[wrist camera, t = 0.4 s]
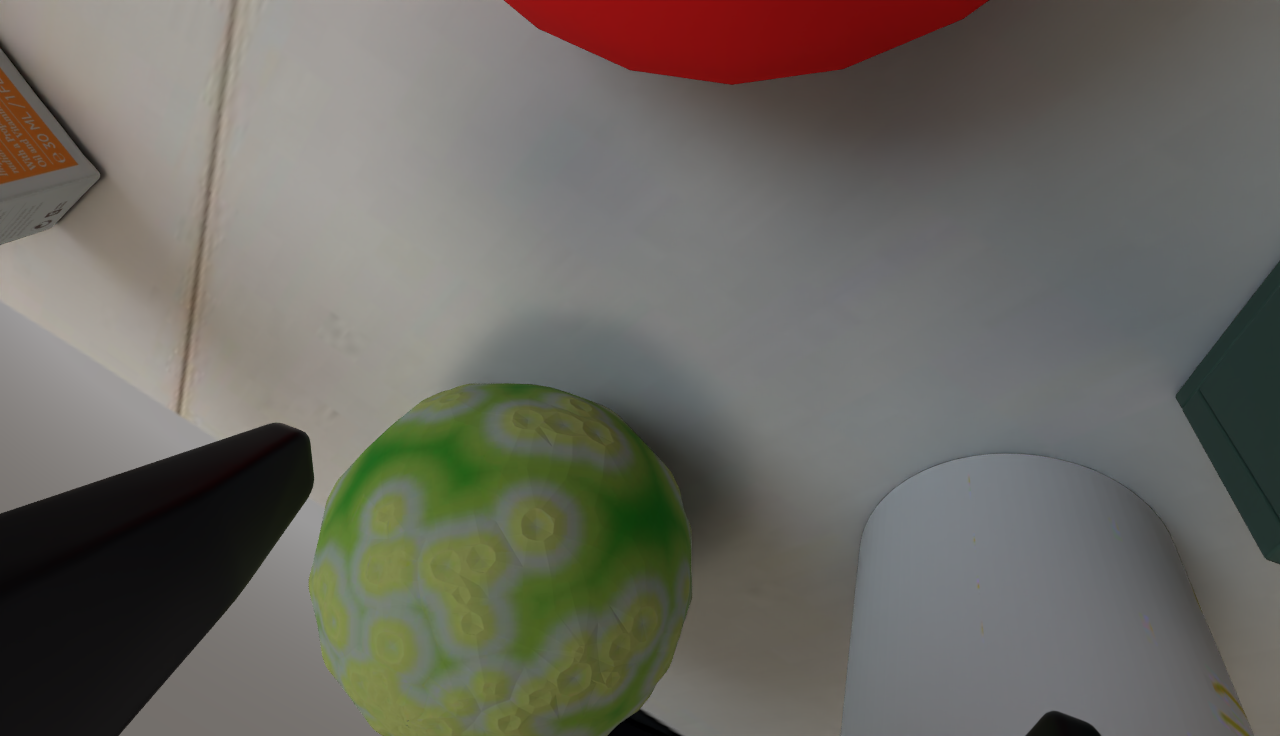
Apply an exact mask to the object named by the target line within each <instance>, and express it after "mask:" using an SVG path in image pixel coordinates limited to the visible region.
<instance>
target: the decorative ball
mask: <svg viewBox="0 0 1280 736" xmlns="http://www.w3.org/2000/svg"><path fill="white" fill-rule="evenodd" d="M691 537H692V531H691V526H690V523H689V521H688V518H687V516H686V513H685V511H684V507H683V502H682V498H681V493H680V489H679V487H678V485H677V483H676V481H675V479H674V477H673V475H672V473H671V471H670V470H669V469H668V468H667V466H666V465H665V464H664V463H663V462H662V461H661V460H660V459H659V458H658V457H657V456H656V455H655V454H654V452H653V451H652V450H651V449H650V448H649V447H648V446H647V445H646V444H645V443H644V442H643V441H642V440H641V439H640V438H639V437H638V435H637V434H636V433H635V432H634V431H633V430H632V429H631V428H630V427H629V426H628V425H627V424H626V423H625V422H624V421H623V420H622V419H621V418H620V417H619V416H618V415H617V414H616V413H614V412H613V411H612V410H610V409H608V408H606V407H604V406H602V405H600V404H597V403H594V402H592V401H589V400H587V399H584V398H581V397H579V396H576V395H573V394H570V393H567V392H564V391H561V390H557V389H554V388H550V387H545V386H539V385H532V384H509V383H505V384H466V385H462V386H459V387H456V388H453V389H451V390H447V391H443V392H441V393H438V394H436V395H433V396H431V397H429V398H427V399H425V400H423V401H421V402H420V403H419V404H417V405H416V406H415V407H414V408H412V409H411V410H410V411H409V412H408V413H406V414H405V415H404V416H403V417H401V418H400V419H399V420H398V421H396V422H395V423H394V424H393V425H392V426H391V427H390V428H388V429H387V430H386V431H385V432H384V433H383V434H382V435H381V436H380V437H379V438H378V439H377V440H376V441H374V442H373V443H372V444H371V445H370V446H369V447H368V448H367V449H366V450H365V451H364V452H363V453H362V454H361V455H360V457H359V458H358V459H357V460H356V461H355V462H354V463H353V464H352V465H351V466H350V468H349V469H348V470H347V471H346V472H345V473H344V474H343V475H342V476H341V477H340V478H339V479H338V481H337V482H336V484H335V486H334V487H333V489H332V491H331V493H330V495H329V497H328V500H327V503H326V506H325V511H324V516H323V521H322V526H321V530H320V535H319V540H318V544H317V548H316V553H315V557H314V561H313V565H312V569H311V573H310V577H309V592H310V596H311V600H312V604H313V608H314V612H315V616H316V620H317V624H318V631H319V638H320V644H321V650H322V657H323V660H324V663H325V665H326V667H327V668H328V670H329V671H330V672H331V674H332V675H333V676H334V678H335V679H336V680H337V681H338V683H339V684H340V685H341V686H342V688H343V689H344V690H345V692H346V693H347V694H348V695H349V697H350V698H351V699H352V701H353V702H354V704H355V705H356V706H357V708H358V709H359V711H360V712H361V713H362V715H363V716H364V717H365V719H366V720H367V722H368V723H369V724H370V726H371V727H372V728H373V729H374V730H375V731H376V732H378V733H379V734H381V735H382V736H607V735H608V734H609V733H610V732H611V731H612V730H613V729H614V728H615V727H616V726H617V725H618V724H619V723H621V722H622V721H623V720H625V719H626V718H628V717H629V716H631V715H632V714H634V713H635V712H637V711H638V710H639V709H640V708H641V707H642V705H643V704H644V703H645V702H646V700H647V699H648V698H649V697H650V695H651V693H652V691H653V689H654V688H655V686H656V684H657V682H658V681H659V680H660V679H661V678H662V676H663V675H664V674H665V673H666V671H667V670H668V668H669V666H670V664H671V662H672V659H673V655H674V652H675V649H676V646H677V642H678V640H679V637H680V634H681V631H682V627H683V623H684V620H685V617H686V614H687V611H688V608H689V605H690V602H691V599H692V577H691Z"/></svg>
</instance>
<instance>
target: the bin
mask: <svg viewBox="0 0 1280 736" xmlns="http://www.w3.org/2000/svg"><path fill="white" fill-rule="evenodd" d="M1176 399H1177V401H1178V402H1179V404H1180V406H1181V407H1182V408H1183V412H1184V414H1185V416H1186V417H1187V419H1188V421H1189V423H1190V425H1191V426H1192V428H1193V430H1194V432H1195V434H1196V435H1197V437H1198V439H1199V441H1200V443H1201V444H1202V446H1203V448H1204V450H1205V452H1206V453H1207V455H1208V457H1209V459H1210V460H1211V462H1212V464H1213V466H1214V468H1215V469H1216V471H1217V473H1218V475H1219V477H1220V478H1221V480H1222V482H1223V484H1224V486H1225V487H1226V489H1227V491H1228V493H1229V495H1230V496H1231V498H1232V500H1233V502H1234V504H1235V505H1236V507H1237V509H1238V511H1239V513H1240V514H1241V516H1242V518H1243V520H1244V522H1245V523H1246V525H1247V527H1248V529H1249V531H1250V532H1251V534H1252V536H1253V538H1254V540H1255V541H1256V543H1257V545H1258V547H1259V549H1260V550H1261V552H1262V554H1263V556H1264V557H1265V558H1266V559H1267V560H1269V561H1272V562H1275V563H1278V564H1280V261H1279V263H1278V264H1277V265H1276V266H1275V268H1274V269H1273V270H1272V272H1271V273H1270V274H1269V275H1268V277H1267V278H1266V279H1265V281H1264V282H1263V283H1262V285H1261V286H1260V287H1259V288H1258V290H1257V291H1256V292H1255V294H1254V295H1253V296H1252V297H1251V299H1250V300H1249V301H1248V303H1247V304H1246V305H1245V306H1244V308H1243V309H1242V310H1241V312H1240V313H1239V314H1238V315H1237V317H1236V318H1235V319H1234V321H1233V322H1232V323H1231V325H1230V326H1229V327H1228V328H1227V330H1226V331H1225V332H1224V334H1223V335H1222V336H1221V337H1220V339H1219V340H1218V341H1217V343H1216V344H1215V345H1214V346H1213V348H1212V349H1211V350H1210V352H1209V353H1208V354H1207V355H1206V357H1205V358H1204V359H1203V361H1202V362H1201V363H1200V365H1199V366H1198V367H1197V368H1196V370H1195V371H1194V372H1193V374H1192V375H1191V376H1190V377H1189V379H1188V380H1187V381H1186V383H1185V384H1184V385H1183V386H1182V388H1181V389H1180V390H1179V392H1178V393H1177V394H1176Z"/></svg>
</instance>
